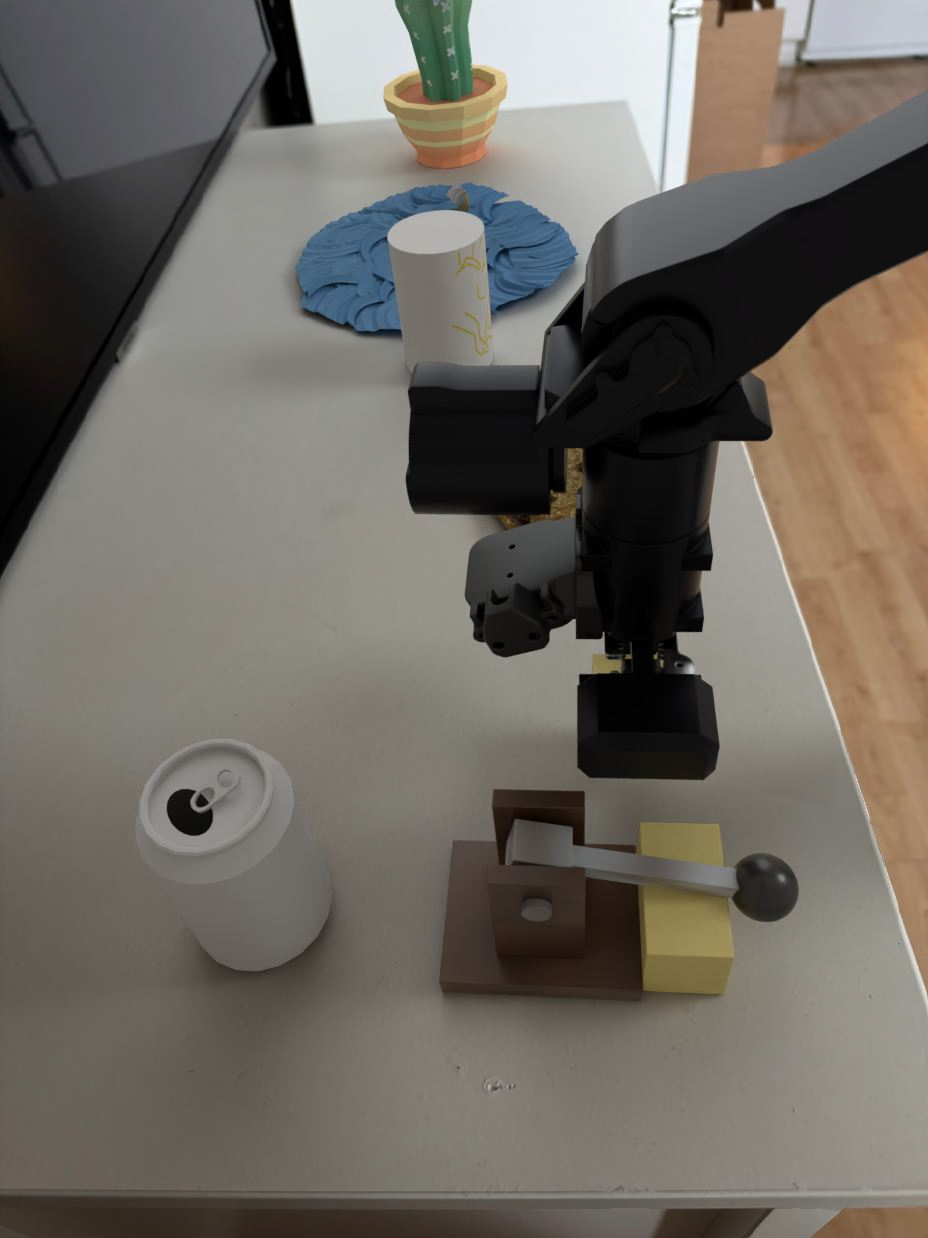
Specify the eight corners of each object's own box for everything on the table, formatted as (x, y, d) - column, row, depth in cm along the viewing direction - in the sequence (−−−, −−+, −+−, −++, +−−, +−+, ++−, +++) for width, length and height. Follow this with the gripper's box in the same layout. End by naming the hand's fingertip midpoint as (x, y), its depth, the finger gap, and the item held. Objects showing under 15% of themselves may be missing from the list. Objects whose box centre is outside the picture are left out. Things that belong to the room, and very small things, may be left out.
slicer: (635, 855, 52) (643, 765, 46) (641, 1001, 47) (652, 922, 40) (455, 850, 53) (438, 761, 47) (441, 992, 48) (420, 914, 42)
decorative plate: (546, 358, 89) (545, 308, 85) (254, 334, 96) (240, 287, 92) (599, 205, 107) (601, 158, 103) (350, 194, 114) (342, 150, 110)
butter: (710, 865, 52) (719, 823, 48) (723, 995, 47) (734, 957, 44) (635, 863, 52) (639, 821, 49) (641, 991, 47) (646, 954, 44)
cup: (482, 385, 84) (471, 255, 76) (395, 380, 86) (375, 252, 78) (501, 337, 90) (493, 210, 81) (419, 333, 92) (402, 209, 83)
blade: (778, 876, 48) (803, 846, 46) (787, 937, 46) (814, 908, 43) (505, 837, 47) (516, 804, 45) (501, 897, 45) (513, 866, 43)
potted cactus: (376, 179, 117) (338, -65, 99) (408, 129, 127) (380, -100, 109) (498, 179, 114) (483, -73, 96) (522, 128, 124) (512, -109, 106)
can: (175, 906, 53) (94, 788, 44) (287, 825, 56) (233, 698, 47) (244, 1008, 48) (170, 899, 40) (362, 914, 51) (318, 794, 43)
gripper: (482, 388, 50) (500, 595, 62) (450, 659, 38) (480, 855, 49) (698, 382, 49) (675, 594, 60) (739, 660, 36) (700, 861, 48)
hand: (631, 711), depth 54 cm, fingers closed on butter pat, 4 cm apart
